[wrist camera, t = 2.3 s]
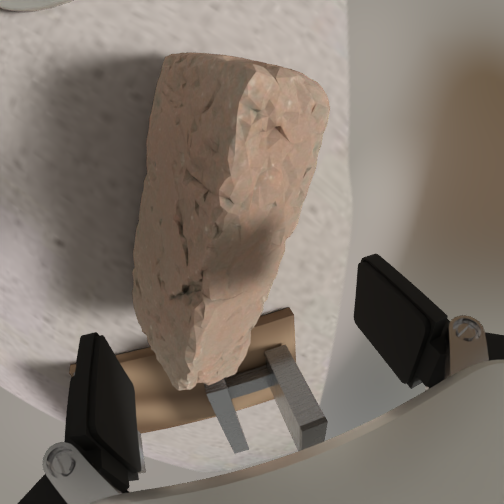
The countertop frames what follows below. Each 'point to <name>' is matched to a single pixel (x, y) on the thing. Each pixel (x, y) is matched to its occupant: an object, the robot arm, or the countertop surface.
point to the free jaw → (284, 391)
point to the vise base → (195, 400)
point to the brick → (219, 205)
